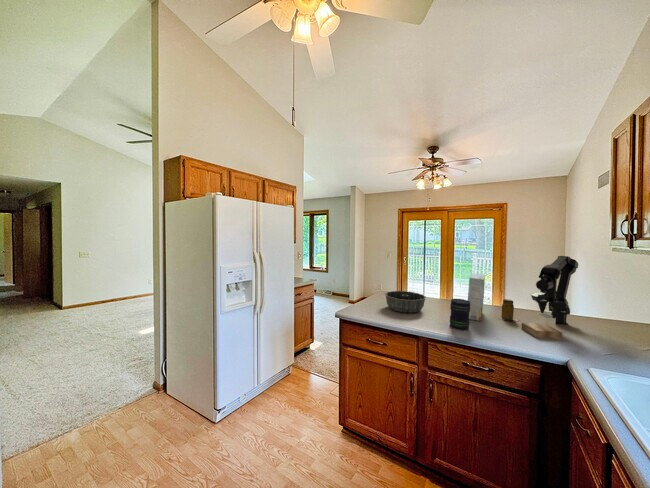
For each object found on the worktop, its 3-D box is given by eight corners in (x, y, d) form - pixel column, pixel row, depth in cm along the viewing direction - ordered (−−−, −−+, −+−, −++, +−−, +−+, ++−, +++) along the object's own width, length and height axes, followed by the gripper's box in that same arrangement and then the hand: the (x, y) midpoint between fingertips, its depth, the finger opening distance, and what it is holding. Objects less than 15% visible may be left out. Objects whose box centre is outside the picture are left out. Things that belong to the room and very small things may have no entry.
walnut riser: (544, 331, 144) (545, 323, 144) (561, 340, 133) (562, 332, 132) (521, 329, 146) (521, 322, 146) (535, 338, 134) (536, 330, 134)
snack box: (482, 322, 156) (484, 279, 155) (465, 319, 161) (468, 277, 159) (483, 312, 175) (485, 274, 173) (468, 310, 179) (470, 272, 178)
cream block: (548, 325, 152) (549, 313, 152) (555, 329, 147) (556, 316, 147) (538, 325, 153) (539, 313, 152) (545, 328, 148) (546, 316, 147)
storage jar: (446, 327, 147) (448, 300, 146) (452, 322, 154) (453, 297, 153) (466, 332, 140) (467, 304, 139) (471, 327, 147) (472, 301, 146)
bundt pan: (379, 304, 190) (380, 290, 190) (414, 303, 193) (414, 290, 193) (392, 316, 164) (393, 300, 163) (432, 315, 167) (433, 299, 166)
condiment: (502, 316, 167) (503, 298, 166) (518, 320, 161) (519, 301, 160) (498, 318, 163) (499, 299, 162) (514, 322, 156) (516, 303, 155)
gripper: (523, 284, 159) (522, 309, 160) (545, 291, 140) (543, 320, 141) (543, 285, 157) (542, 310, 158) (568, 292, 139) (566, 321, 140)
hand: (547, 315), depth 150 cm, fingers open, 9 cm apart
